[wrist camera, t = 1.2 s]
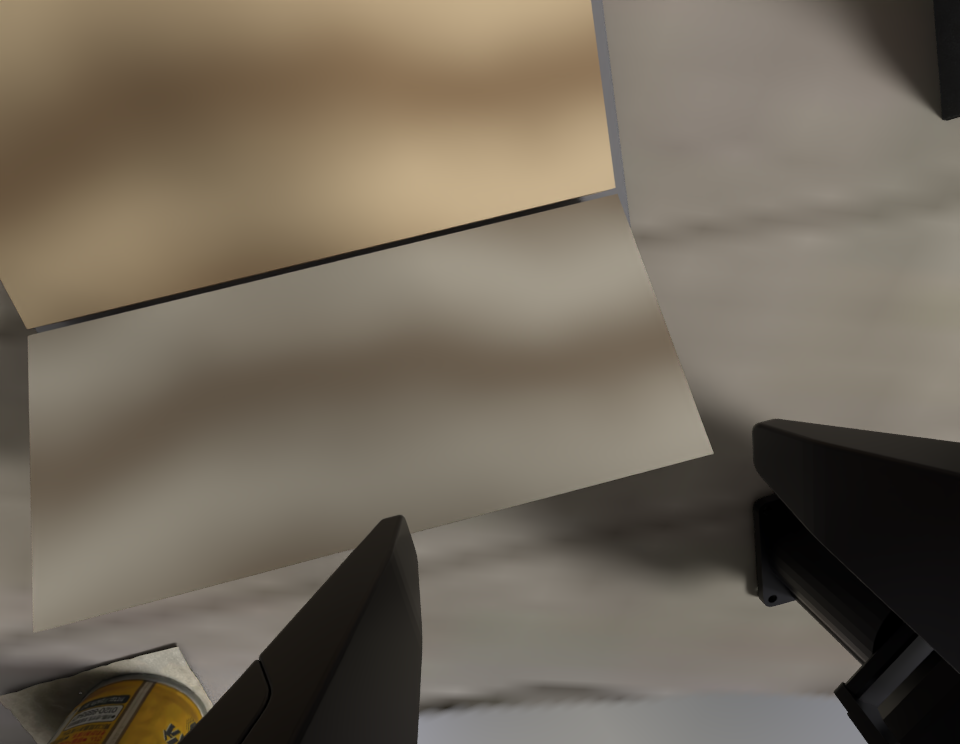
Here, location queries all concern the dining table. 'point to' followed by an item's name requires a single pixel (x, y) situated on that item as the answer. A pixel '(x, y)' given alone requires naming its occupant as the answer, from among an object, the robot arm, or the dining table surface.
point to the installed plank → (275, 135)
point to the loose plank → (345, 407)
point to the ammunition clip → (948, 55)
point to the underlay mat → (620, 190)
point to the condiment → (115, 703)
